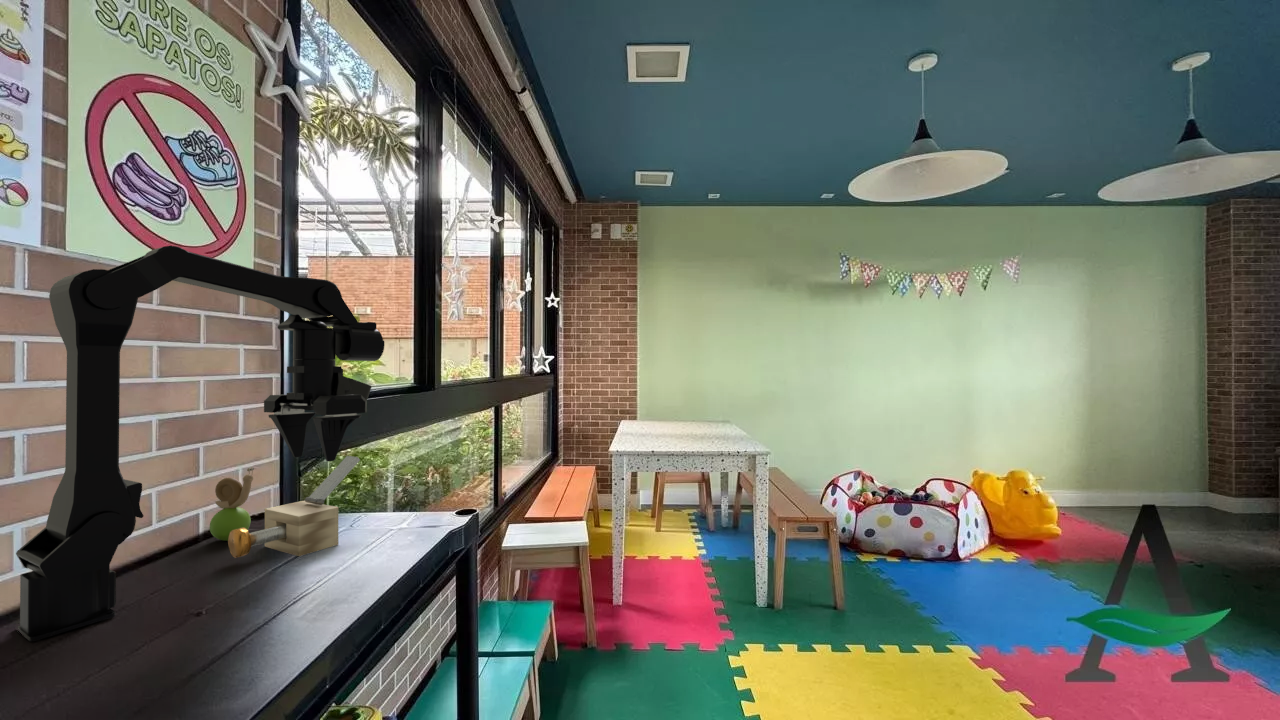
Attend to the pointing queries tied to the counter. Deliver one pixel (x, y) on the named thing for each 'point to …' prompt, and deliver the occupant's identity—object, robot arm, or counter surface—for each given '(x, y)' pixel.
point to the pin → (252, 539)
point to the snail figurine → (231, 506)
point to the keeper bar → (332, 480)
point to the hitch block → (303, 527)
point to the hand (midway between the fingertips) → (313, 458)
